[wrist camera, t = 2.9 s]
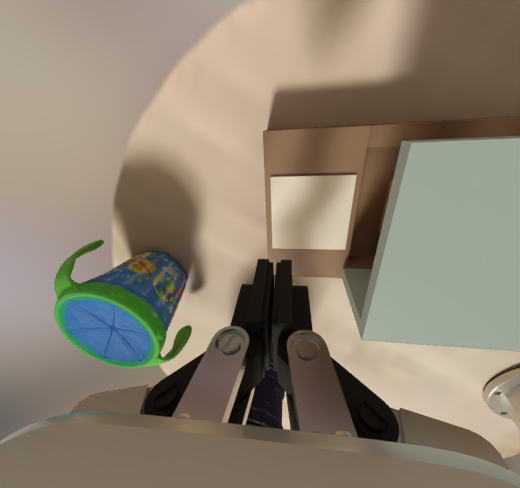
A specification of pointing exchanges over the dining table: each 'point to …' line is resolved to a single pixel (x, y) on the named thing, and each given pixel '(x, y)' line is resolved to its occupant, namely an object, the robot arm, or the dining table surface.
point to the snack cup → (122, 309)
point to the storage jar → (267, 401)
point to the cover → (446, 249)
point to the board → (342, 187)
